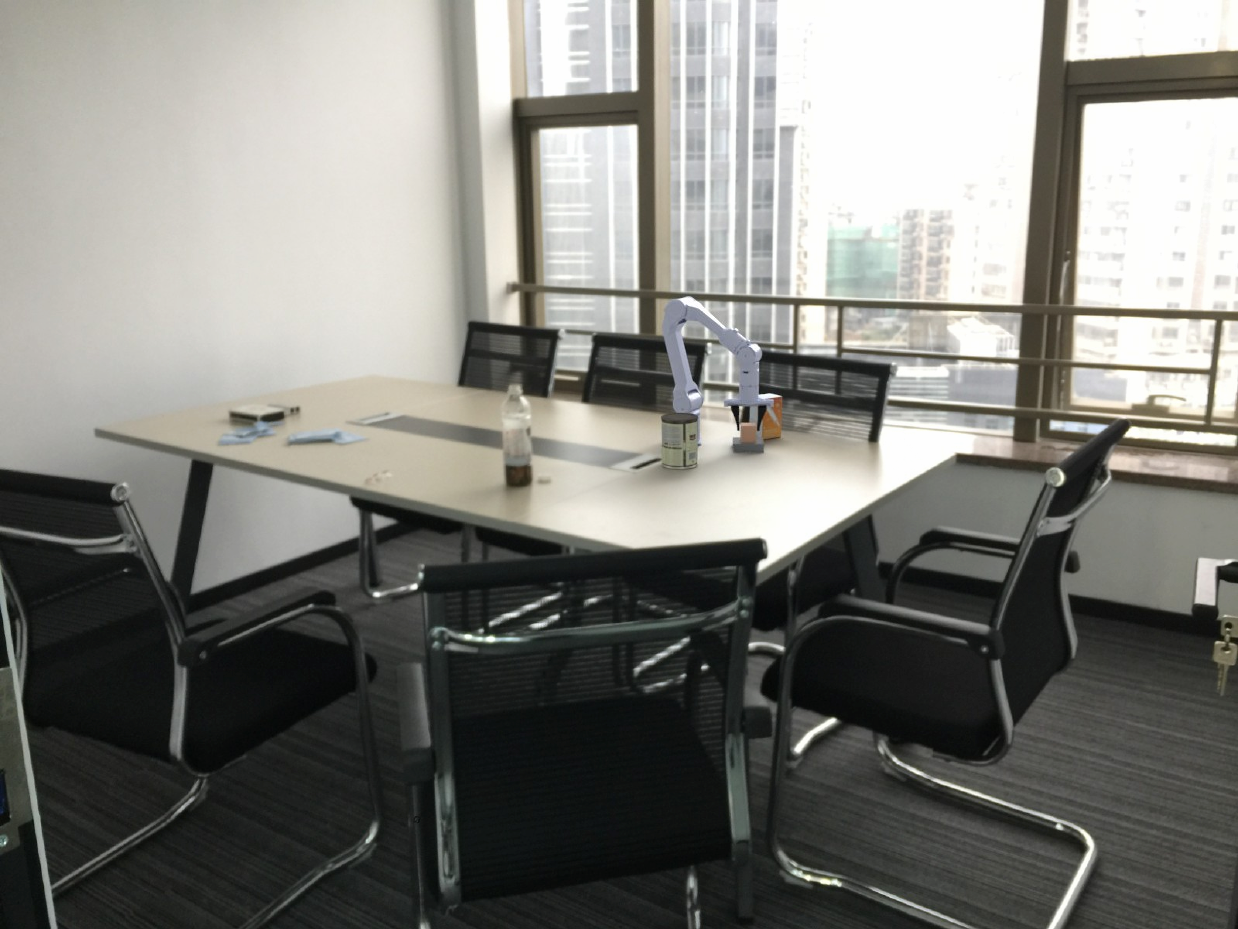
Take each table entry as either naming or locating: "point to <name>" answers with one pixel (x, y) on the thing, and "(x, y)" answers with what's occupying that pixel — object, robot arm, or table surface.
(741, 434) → the peach block
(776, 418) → the small box
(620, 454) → the table surface
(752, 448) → the plate
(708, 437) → the table surface
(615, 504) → the table surface
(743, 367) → the robot arm
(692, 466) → the coffee can
